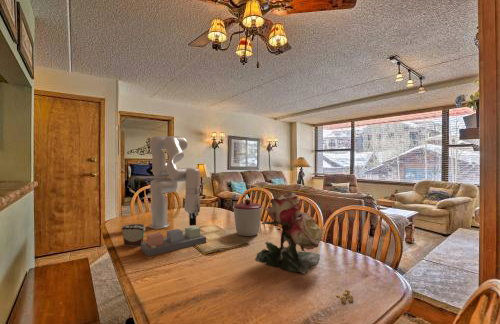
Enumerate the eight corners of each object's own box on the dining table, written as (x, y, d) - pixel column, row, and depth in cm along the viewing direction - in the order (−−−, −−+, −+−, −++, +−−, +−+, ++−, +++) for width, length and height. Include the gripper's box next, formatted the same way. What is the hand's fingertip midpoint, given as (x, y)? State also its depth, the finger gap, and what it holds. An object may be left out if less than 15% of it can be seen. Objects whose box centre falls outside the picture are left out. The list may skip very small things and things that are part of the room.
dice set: (348, 294, 81) (348, 289, 81) (357, 303, 76) (357, 297, 76) (334, 296, 81) (334, 290, 81) (342, 305, 76) (342, 299, 75)
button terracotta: (146, 244, 119) (146, 234, 119) (159, 242, 123) (159, 232, 123) (150, 248, 114) (150, 237, 114) (163, 245, 118) (163, 235, 118)
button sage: (185, 236, 132) (185, 227, 132) (195, 234, 135) (195, 225, 135) (189, 239, 127) (189, 230, 127) (200, 237, 131) (200, 228, 131)
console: (140, 248, 120) (140, 241, 120) (195, 236, 139) (195, 230, 139) (148, 256, 111) (148, 248, 111) (206, 242, 130) (206, 235, 130)
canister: (227, 236, 140) (227, 200, 140) (240, 228, 157) (240, 196, 157) (256, 240, 133) (256, 202, 133) (266, 231, 150) (266, 197, 150)
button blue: (166, 240, 125) (166, 230, 125) (177, 238, 129) (178, 228, 129) (171, 243, 121) (171, 233, 121) (182, 241, 124) (182, 231, 124)
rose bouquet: (315, 279, 91) (316, 199, 91) (250, 261, 106) (250, 193, 106) (332, 256, 112) (333, 192, 112) (276, 244, 128) (276, 187, 128)
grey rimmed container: (150, 242, 129) (150, 223, 129) (143, 246, 123) (143, 227, 123) (128, 241, 131) (128, 223, 131) (121, 245, 125) (121, 226, 124)
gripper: (180, 190, 134) (180, 223, 134) (192, 193, 123) (192, 229, 123) (192, 189, 139) (192, 221, 139) (205, 192, 127) (205, 226, 128)
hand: (192, 225), depth 131 cm, fingers closed
